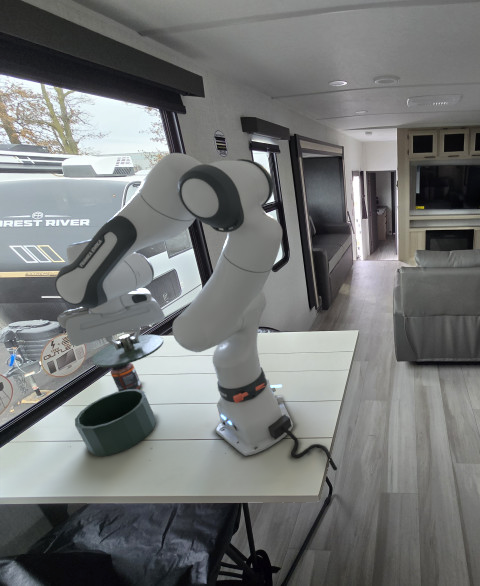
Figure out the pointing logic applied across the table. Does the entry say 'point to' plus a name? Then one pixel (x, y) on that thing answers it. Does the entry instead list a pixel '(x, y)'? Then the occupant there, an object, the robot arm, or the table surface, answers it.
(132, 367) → the supplement bottle
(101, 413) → the waste tin
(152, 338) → the tin lid
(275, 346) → the table surface
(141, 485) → the table surface
